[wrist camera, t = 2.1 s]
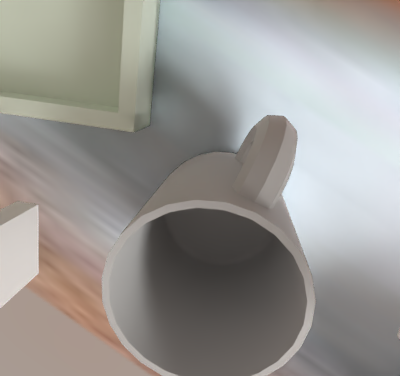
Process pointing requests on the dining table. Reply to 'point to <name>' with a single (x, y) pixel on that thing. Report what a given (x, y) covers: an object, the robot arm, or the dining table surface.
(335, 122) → the dining table surface
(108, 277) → the cup
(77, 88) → the tray
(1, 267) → the robot arm
